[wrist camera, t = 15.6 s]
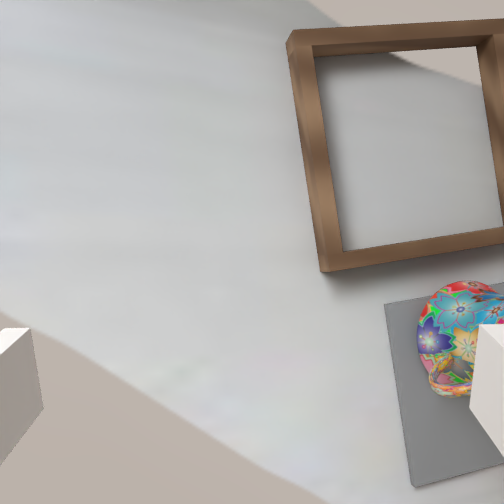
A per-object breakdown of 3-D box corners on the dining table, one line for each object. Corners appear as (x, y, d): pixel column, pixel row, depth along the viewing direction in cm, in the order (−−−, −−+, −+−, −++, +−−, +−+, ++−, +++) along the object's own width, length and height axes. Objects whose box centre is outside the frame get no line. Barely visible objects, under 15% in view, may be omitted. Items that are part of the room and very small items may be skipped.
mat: (384, 304, 36) (387, 304, 36) (537, 276, 39) (542, 276, 39) (411, 484, 36) (414, 487, 36) (563, 443, 39) (568, 445, 38)
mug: (494, 261, 38) (622, 258, 27) (524, 372, 38) (662, 411, 27) (360, 304, 35) (444, 320, 25) (392, 423, 36) (490, 487, 25)
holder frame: (285, 42, 35) (293, 29, 33) (486, 31, 39) (504, 18, 37) (320, 271, 35) (329, 271, 33) (518, 239, 39) (537, 237, 37)
